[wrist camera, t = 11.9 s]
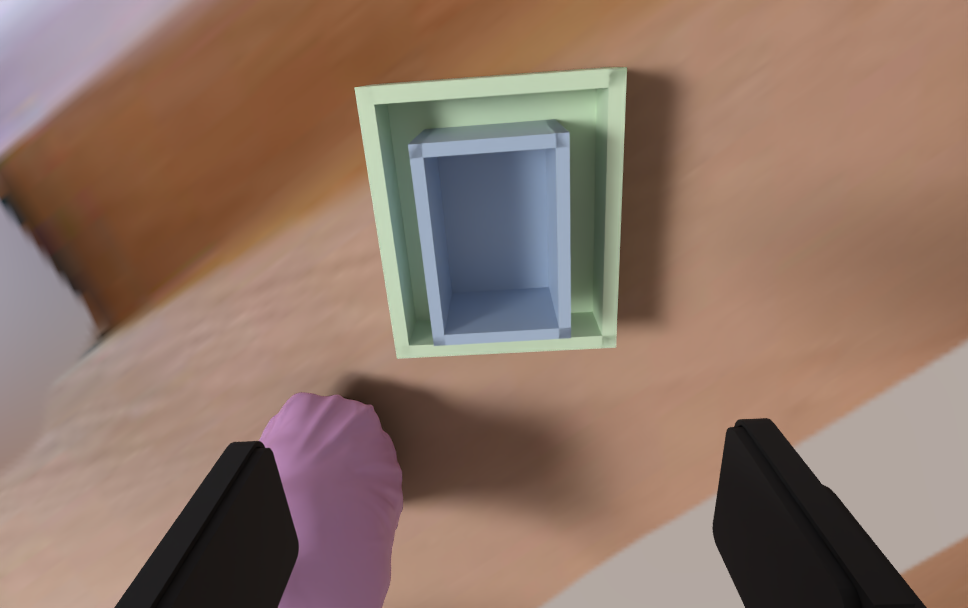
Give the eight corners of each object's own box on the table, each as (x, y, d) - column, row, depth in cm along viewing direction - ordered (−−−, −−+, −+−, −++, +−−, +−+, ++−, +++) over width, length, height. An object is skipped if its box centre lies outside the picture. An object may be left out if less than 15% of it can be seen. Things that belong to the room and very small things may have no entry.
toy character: (250, 373, 36) (1, 689, 18) (399, 359, 35) (298, 673, 17) (296, 507, 41) (138, 860, 23) (428, 497, 40) (373, 853, 22)
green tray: (603, 316, 34) (615, 347, 30) (407, 327, 34) (396, 358, 31) (609, 66, 28) (627, 67, 24) (372, 84, 28) (354, 87, 25)
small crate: (558, 291, 32) (571, 338, 27) (444, 298, 33) (434, 346, 27) (554, 119, 28) (569, 132, 23) (424, 129, 28) (407, 144, 23)
